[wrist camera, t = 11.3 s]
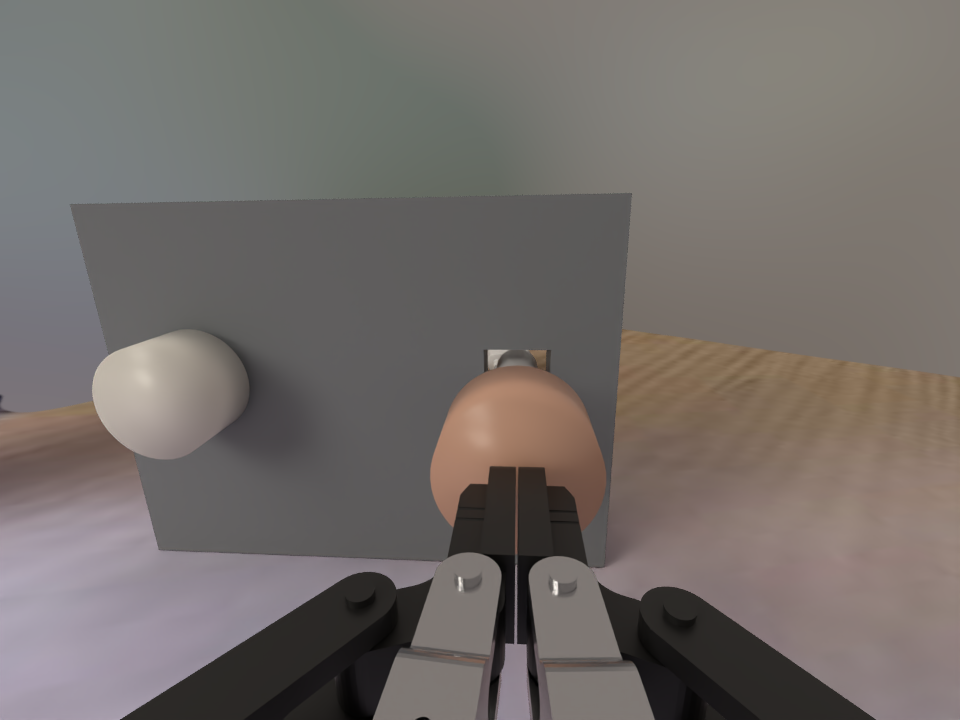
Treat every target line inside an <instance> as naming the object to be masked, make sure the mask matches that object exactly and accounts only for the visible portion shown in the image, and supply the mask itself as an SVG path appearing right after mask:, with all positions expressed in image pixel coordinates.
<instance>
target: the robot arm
mask: <svg viewBox="0 0 960 720" xmlns="http://www.w3.org/2000/svg"><path fill="white" fill-rule="evenodd" d="M515 514H516V467H511V466H490V469H489V477H488V484H469V485H468V487H467V488H466V489H465V490H464V491H463V492H462V493H461V494H460V498H459V503H458V510H457V513H456V519H455V522H454V527H453V532H452V537H451V542H450V547H449V552H448V556H447V559H446V560H444V561H443V562H442V563H441V564H440V565H439V566H438V568H437V570H436V572H435V575H434V577H433V578H432V579H430V580H428V581H426V582H424V583H422V584H419V585H415V586H411V587H406V588H401V589H397V590H396V587H395V585H394V583H393V581H392V580H391V579H390V578H388V577H387V576H385V575H383V574H380V573H376V572H363V573H357V574H354V575H351V576H348V577H346V578H344V579H343V580H341V581H339V582H338V583H336V584H334V585H333V586H331V587H330V588H328V589H327V590H325V591H323V592H322V593H320V594H319V595H317V596H315V597H314V598H312V599H311V600H309V601H307V602H306V603H304V604H303V605H301V606H300V607H298V608H296V609H295V610H293V611H292V612H290V613H288V614H287V615H285V616H284V617H282V618H281V619H279V620H277V621H276V622H274V623H273V624H271V625H269V626H268V627H266V628H265V629H263V630H261V631H260V632H258V633H257V634H255V635H254V636H252V637H250V638H249V639H247V640H246V641H244V642H242V643H241V644H239V645H238V646H236V647H234V648H233V649H231V650H230V651H228V652H227V653H225V654H223V655H222V656H220V657H219V658H217V659H215V660H214V661H212V662H211V663H209V664H208V665H206V666H204V667H203V668H201V669H200V670H198V671H196V672H195V673H193V674H192V675H190V676H188V677H187V678H185V679H184V680H182V681H181V682H179V683H177V684H176V685H174V686H173V687H171V688H169V689H168V690H166V691H165V692H163V693H162V694H160V695H158V696H157V697H155V698H154V699H152V700H150V701H149V702H147V703H146V704H144V705H142V706H141V707H139V708H138V709H136V710H135V711H133V712H131V713H130V714H128V715H127V716H125V717H123V718H122V719H120V720H497V714H498V705H499V696H500V688H501V670H502V668H503V665H504V660H505V643H508V644H514V618H515ZM517 644H527V690H528V700H529V711H530V720H876V719H874V718H873V717H871V716H870V715H869V714H867V713H866V712H864V711H863V710H861V709H860V708H858V707H857V706H856V705H854V704H853V703H851V702H850V701H848V700H847V699H845V698H844V697H843V696H841V695H840V694H838V693H837V692H835V691H834V690H832V689H831V688H830V687H828V686H827V685H825V684H824V683H822V682H821V681H820V680H818V679H817V678H815V677H814V676H812V675H811V674H809V673H808V672H807V671H805V670H804V669H802V668H801V667H799V666H798V665H796V664H795V663H794V662H792V661H791V660H789V659H788V658H786V657H785V656H783V655H782V654H781V653H779V652H778V651H776V650H775V649H773V648H772V647H770V646H769V645H768V644H766V643H765V642H763V641H762V640H760V639H759V638H757V637H756V636H755V635H753V634H752V633H750V632H749V631H747V630H746V629H744V628H743V627H742V626H740V625H739V624H737V623H736V622H734V621H733V620H731V619H730V618H729V617H727V616H726V615H724V614H723V613H721V612H720V611H719V610H717V609H716V608H714V607H713V606H711V605H710V604H708V603H707V602H706V601H704V600H703V599H701V598H700V597H698V596H696V595H695V594H693V593H691V592H688V591H686V590H683V589H679V588H675V587H657V588H654V589H651V590H649V591H648V592H646V593H645V594H644V596H643V597H642V599H641V601H639V600H636V599H632V598H629V597H626V596H623V595H620V594H617V593H615V592H613V591H611V590H609V589H607V588H606V587H604V586H603V585H601V584H600V583H599V582H598V581H597V579H596V576H595V574H594V573H593V571H592V570H591V569H590V568H589V567H588V563H587V558H586V553H585V548H584V543H583V538H582V533H581V528H580V525H579V518H578V514H577V507H576V502H575V498H574V497H573V496H572V494H571V493H570V492H569V491H568V490H567V489H566V488H565V486H547V484H546V475H545V467H518V542H517Z"/></svg>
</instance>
